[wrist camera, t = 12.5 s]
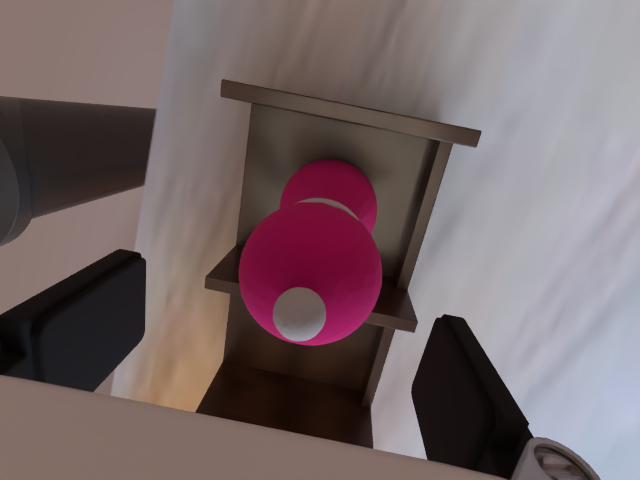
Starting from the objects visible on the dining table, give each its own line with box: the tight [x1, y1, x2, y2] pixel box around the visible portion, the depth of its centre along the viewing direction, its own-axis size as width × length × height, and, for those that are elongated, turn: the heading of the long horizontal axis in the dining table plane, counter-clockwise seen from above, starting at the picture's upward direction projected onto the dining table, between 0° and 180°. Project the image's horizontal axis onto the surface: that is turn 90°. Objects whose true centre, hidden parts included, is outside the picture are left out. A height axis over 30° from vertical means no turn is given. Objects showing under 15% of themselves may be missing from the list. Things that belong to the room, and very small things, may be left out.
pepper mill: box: [238, 159, 382, 346], centre depth 20 cm, size 7×7×20 cm
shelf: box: [195, 79, 481, 449], centre depth 30 cm, size 16×28×10 cm, turn 169°
